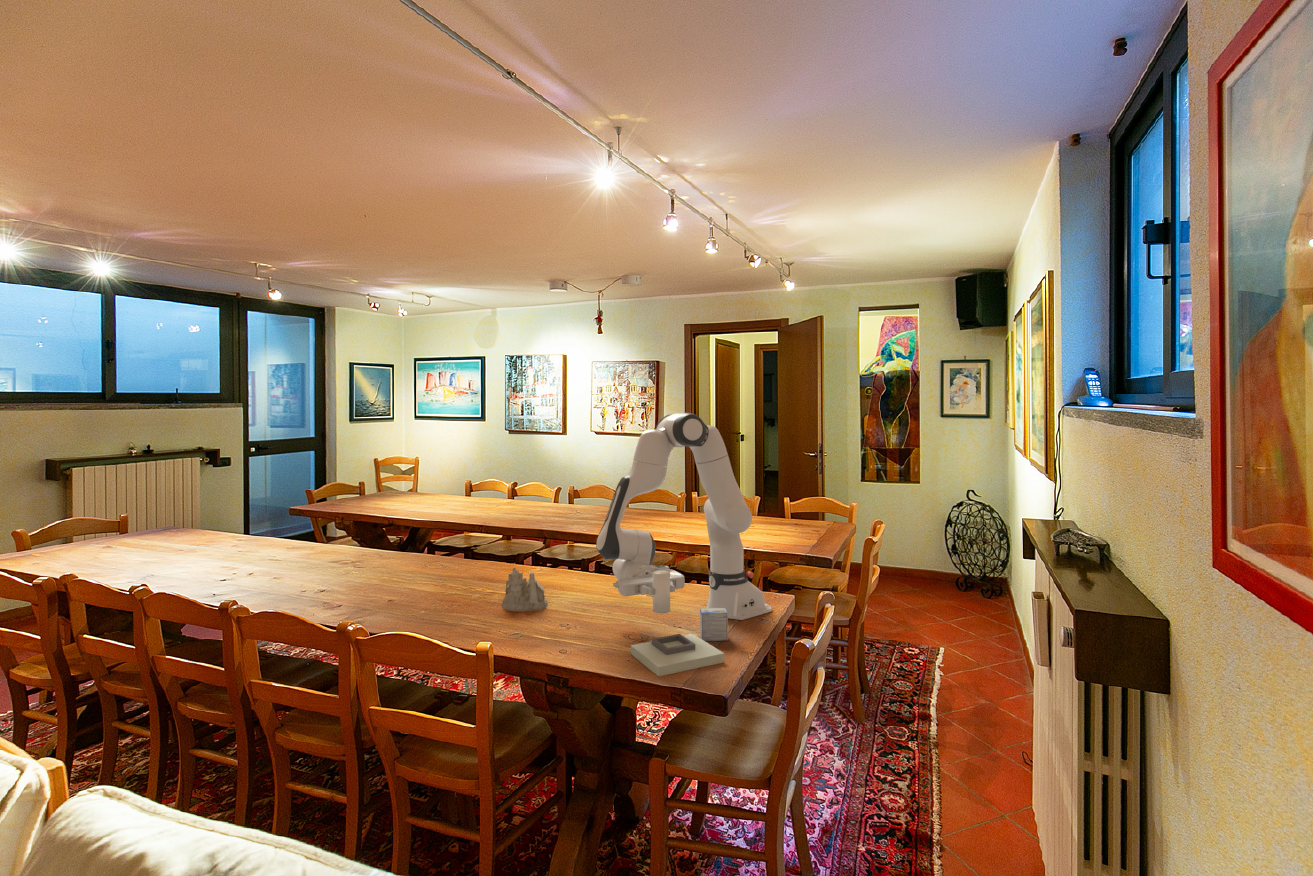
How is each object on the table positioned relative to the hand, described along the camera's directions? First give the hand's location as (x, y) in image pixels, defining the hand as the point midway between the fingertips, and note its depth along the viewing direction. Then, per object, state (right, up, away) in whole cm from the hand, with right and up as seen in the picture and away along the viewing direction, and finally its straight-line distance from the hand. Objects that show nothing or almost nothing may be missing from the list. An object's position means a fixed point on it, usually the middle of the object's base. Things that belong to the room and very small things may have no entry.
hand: (662, 590), depth 184 cm
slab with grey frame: (+4, -17, -6) cm, 19 cm away
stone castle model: (-48, -15, +43) cm, 66 cm away
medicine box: (+15, -17, +9) cm, 24 cm away
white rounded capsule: (0, -6, +1) cm, 6 cm away
